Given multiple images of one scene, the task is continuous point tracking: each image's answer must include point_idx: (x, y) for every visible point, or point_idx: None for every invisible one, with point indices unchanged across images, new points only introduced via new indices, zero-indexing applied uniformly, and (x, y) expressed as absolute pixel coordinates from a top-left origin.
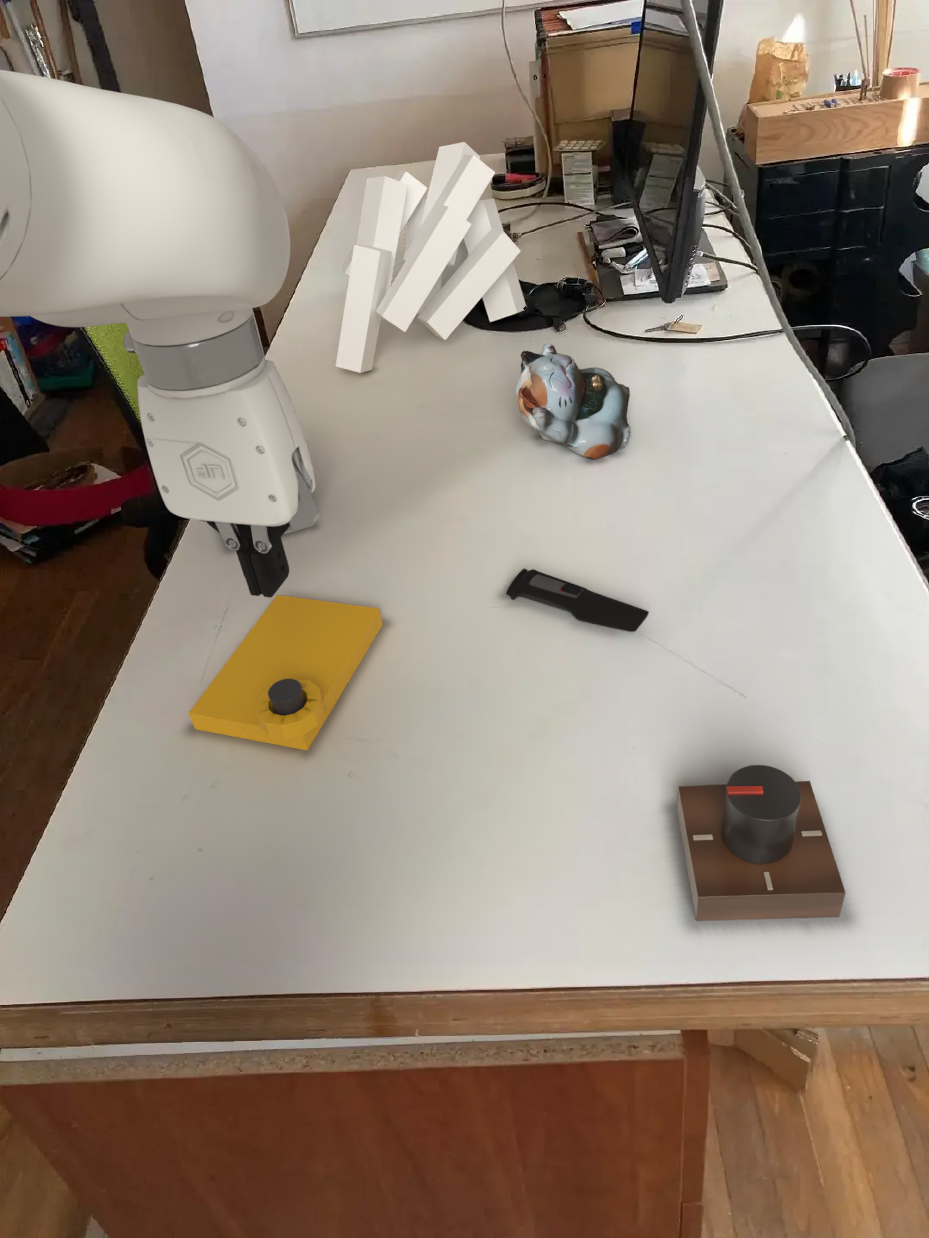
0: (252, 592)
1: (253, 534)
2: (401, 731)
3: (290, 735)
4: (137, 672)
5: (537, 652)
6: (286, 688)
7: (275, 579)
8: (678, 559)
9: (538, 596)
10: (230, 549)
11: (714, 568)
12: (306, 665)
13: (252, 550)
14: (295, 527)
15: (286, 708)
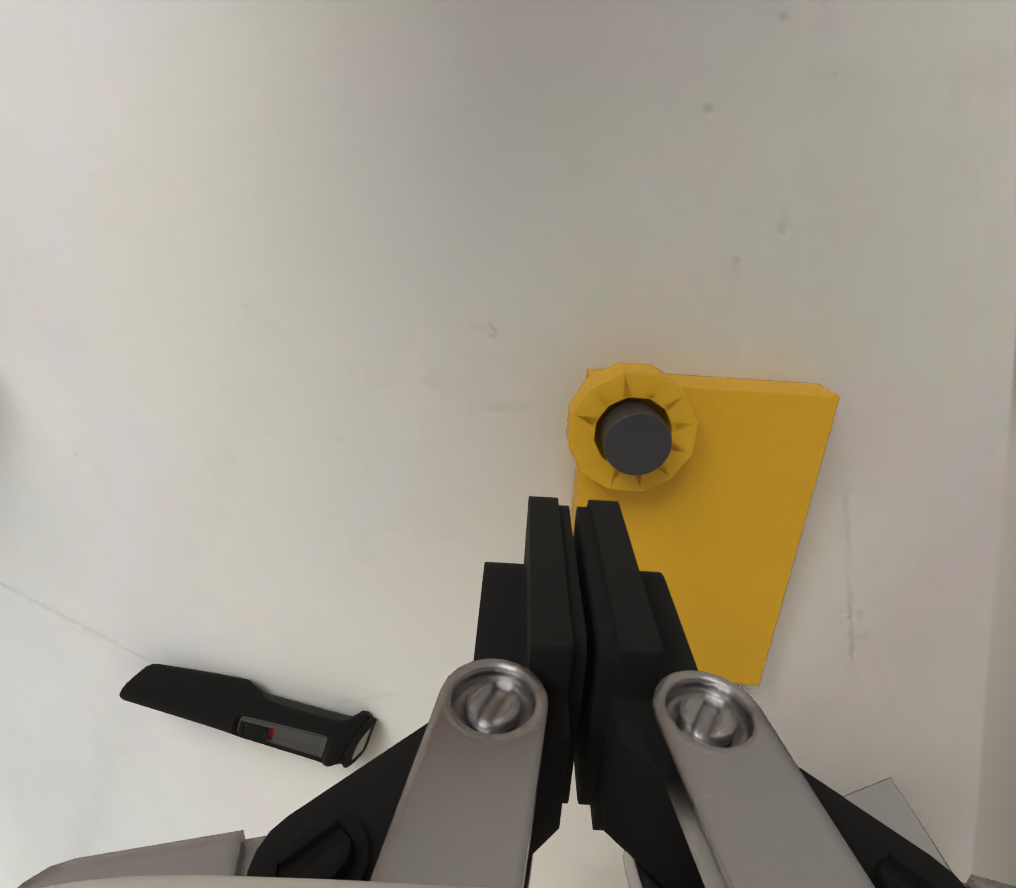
0: (606, 505)
1: (522, 782)
2: (440, 434)
3: (609, 369)
4: (983, 497)
5: (289, 615)
6: (635, 449)
7: (504, 567)
8: (161, 798)
9: (310, 716)
10: (890, 779)
11: (107, 785)
12: (643, 535)
13: (594, 684)
14: (196, 857)
15: (624, 409)
